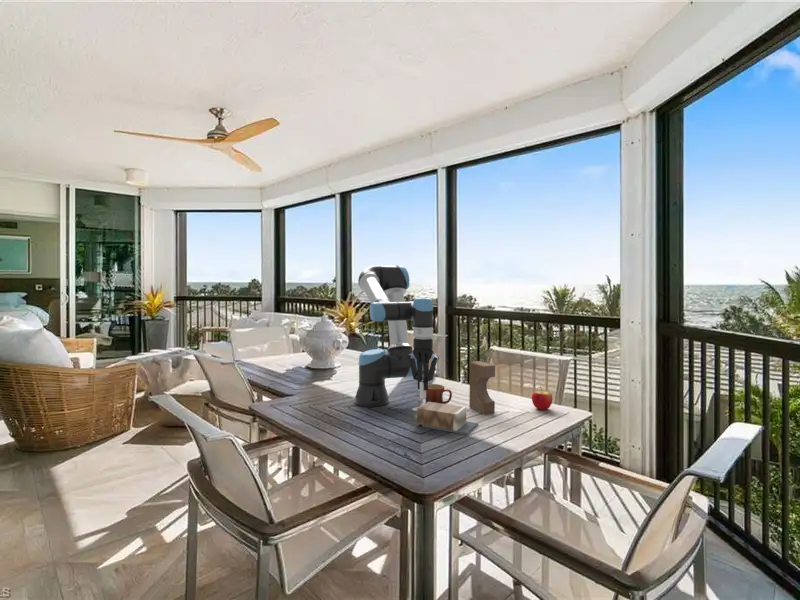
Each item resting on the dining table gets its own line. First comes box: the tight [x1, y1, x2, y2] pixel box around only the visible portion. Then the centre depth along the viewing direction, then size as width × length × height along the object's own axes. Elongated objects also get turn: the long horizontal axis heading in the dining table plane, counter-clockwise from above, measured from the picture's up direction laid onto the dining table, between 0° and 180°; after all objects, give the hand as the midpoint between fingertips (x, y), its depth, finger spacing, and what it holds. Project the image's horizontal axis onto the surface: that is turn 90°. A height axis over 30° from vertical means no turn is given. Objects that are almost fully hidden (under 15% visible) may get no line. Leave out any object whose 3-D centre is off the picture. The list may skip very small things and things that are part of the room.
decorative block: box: [468, 360, 496, 415], centre depth 188 cm, size 11×6×20 cm, turn 25°
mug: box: [424, 383, 453, 404], centre depth 187 cm, size 12×9×10 cm
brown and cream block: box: [416, 402, 467, 431], centre depth 169 cm, size 6×10×16 cm
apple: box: [531, 386, 553, 411], centre depth 190 cm, size 8×8×10 cm
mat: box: [421, 420, 479, 436], centre depth 169 cm, size 18×12×1 cm, turn 61°
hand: (422, 398), depth 173 cm, fingers closed
